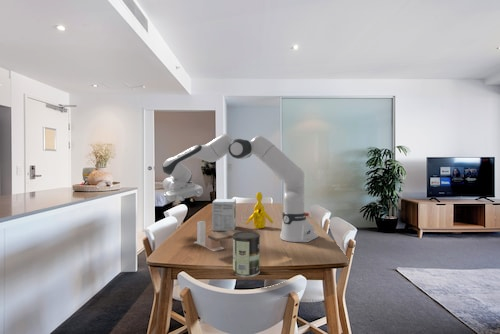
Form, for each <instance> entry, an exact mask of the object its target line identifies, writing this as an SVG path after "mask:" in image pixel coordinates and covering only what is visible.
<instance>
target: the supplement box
mask: <svg viewBox="0 0 500 334" xmlns="http://www.w3.org/2000/svg"><path fill="white" fill-rule="evenodd" d="M211 208H212V210H211V213H212V214H211V216H212V217H211V220H212V221H211V225H212V227H211V230H212V232H213V231H215V232H216V231H217V232H218V231H219V232H226V231H231V230H236V227H237V199H235V198H215V199H214V200H213V201H212V205H211Z"/></svg>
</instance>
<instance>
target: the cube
mask: <svg viewBox="0 0 500 334" xmlns="http://www.w3.org/2000/svg"><path fill="white" fill-rule="evenodd" d="M206 247H207V248H206ZM218 247H221V241H214V240H212V239H209V238H208V235H206V236H205V247H204V248H206V249H208V248H210V249H214V248H218ZM210 249H209V250H210Z"/></svg>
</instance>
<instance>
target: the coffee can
mask: <svg viewBox="0 0 500 334" xmlns="http://www.w3.org/2000/svg"><path fill="white" fill-rule="evenodd" d="M260 239H261V234H259V233H258V232H255V231H242V232H237V233H234V234H233V238H232V270H233V271H234V272H233V275H234V276H236V277H238V278H253V277H257V276H258V275H260V273H261V271H260V270H261V269H260V257H261V256H260V247H261V245H260V243H261V242H260V241H261V240H260Z"/></svg>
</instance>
